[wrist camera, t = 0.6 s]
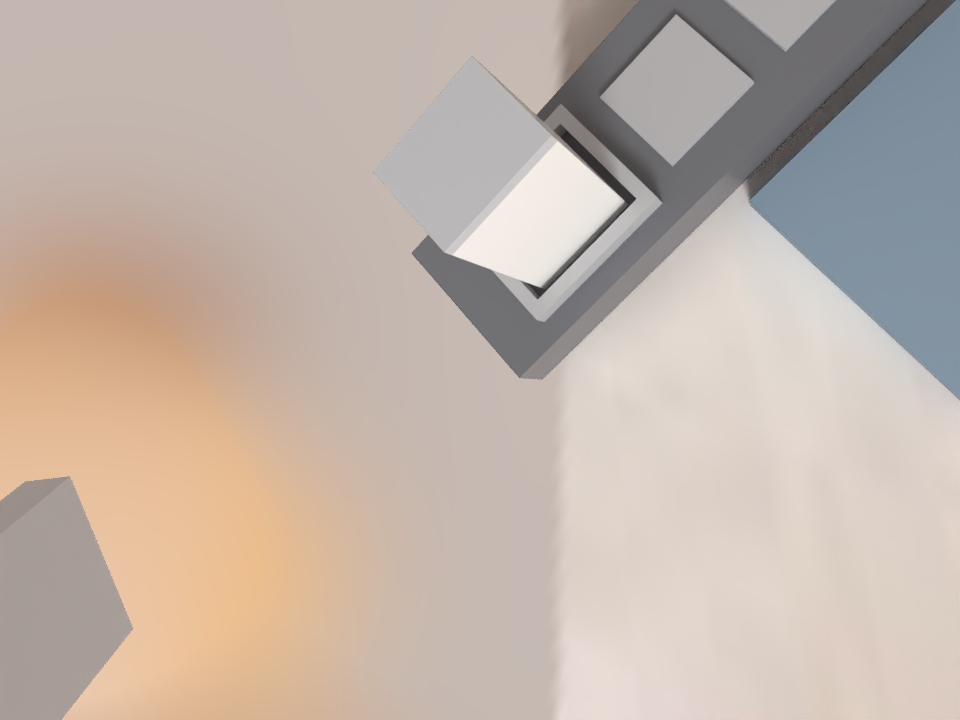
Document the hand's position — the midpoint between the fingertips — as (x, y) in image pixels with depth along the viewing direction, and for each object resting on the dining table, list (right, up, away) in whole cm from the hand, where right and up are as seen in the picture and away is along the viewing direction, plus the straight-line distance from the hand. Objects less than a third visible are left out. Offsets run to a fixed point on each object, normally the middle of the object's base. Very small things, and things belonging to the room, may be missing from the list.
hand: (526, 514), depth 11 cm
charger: (+3, +8, +25) cm, 26 cm away
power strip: (+11, +15, +25) cm, 31 cm away
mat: (+19, +8, +21) cm, 29 cm away
